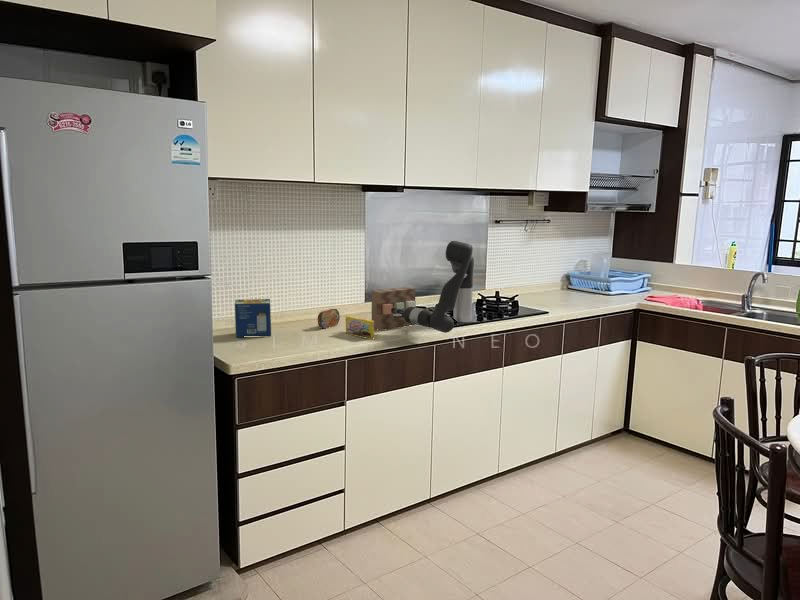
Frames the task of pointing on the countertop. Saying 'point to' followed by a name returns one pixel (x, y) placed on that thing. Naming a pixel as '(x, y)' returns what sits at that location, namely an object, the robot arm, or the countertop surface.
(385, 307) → the terracotta button
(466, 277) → the robot arm
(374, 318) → the button panel
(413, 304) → the cream button
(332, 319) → the tin
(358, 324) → the candy box
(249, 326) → the protein box
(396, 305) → the sage button
